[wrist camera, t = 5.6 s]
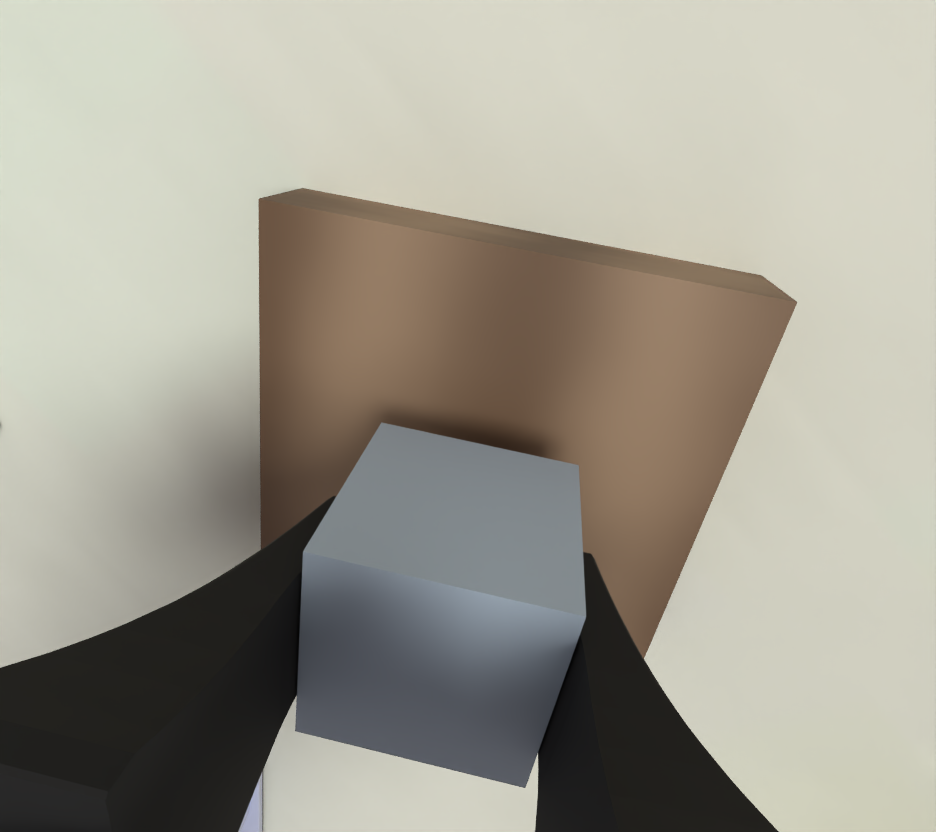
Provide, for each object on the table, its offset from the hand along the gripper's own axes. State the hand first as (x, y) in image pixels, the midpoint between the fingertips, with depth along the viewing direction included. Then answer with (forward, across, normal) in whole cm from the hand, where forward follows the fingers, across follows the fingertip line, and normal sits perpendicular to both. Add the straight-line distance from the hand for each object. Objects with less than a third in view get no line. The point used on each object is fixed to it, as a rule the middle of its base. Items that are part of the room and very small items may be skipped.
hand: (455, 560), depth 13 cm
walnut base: (+6, 0, 0) cm, 6 cm away
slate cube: (+2, 0, 0) cm, 2 cm away
